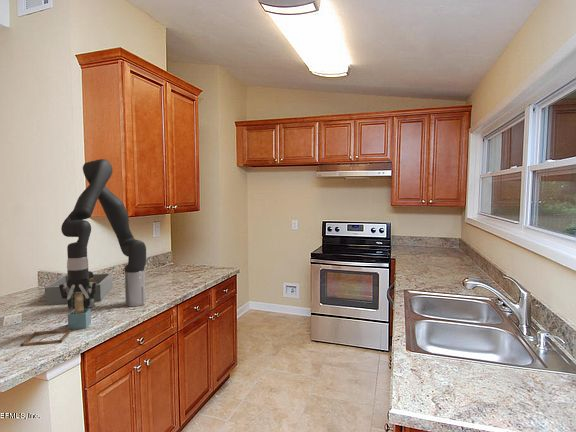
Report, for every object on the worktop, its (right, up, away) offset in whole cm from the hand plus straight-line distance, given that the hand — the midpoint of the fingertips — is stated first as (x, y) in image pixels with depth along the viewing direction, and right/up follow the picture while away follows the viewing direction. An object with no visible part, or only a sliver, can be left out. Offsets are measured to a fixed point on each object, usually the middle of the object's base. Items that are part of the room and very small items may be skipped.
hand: (79, 306), depth 144 cm
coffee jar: (-14, -7, +26) cm, 30 cm away
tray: (-5, -10, -11) cm, 16 cm away
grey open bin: (-26, -6, +44) cm, 52 cm away
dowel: (0, -8, +1) cm, 8 cm away
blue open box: (0, -9, +1) cm, 9 cm away
